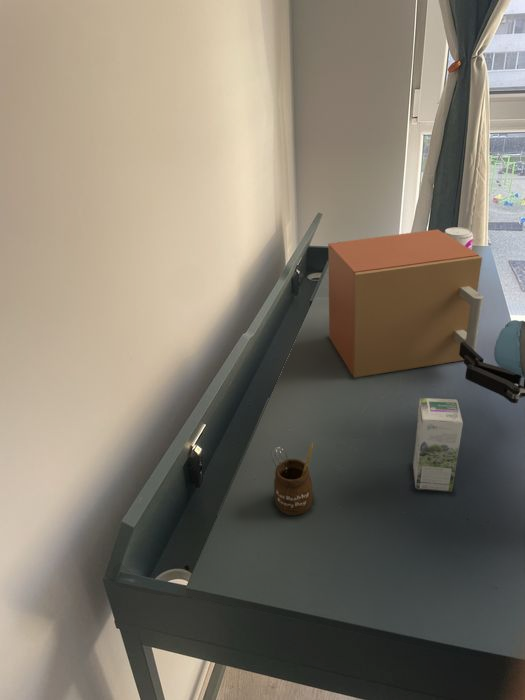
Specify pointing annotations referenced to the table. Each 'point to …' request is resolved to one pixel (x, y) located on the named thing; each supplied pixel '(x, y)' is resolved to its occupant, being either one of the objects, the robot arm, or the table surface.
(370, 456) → the table surface
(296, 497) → the utensil holder
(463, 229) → the supplement can
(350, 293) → the cabinet
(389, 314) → the cabinet door
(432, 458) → the syrup box
